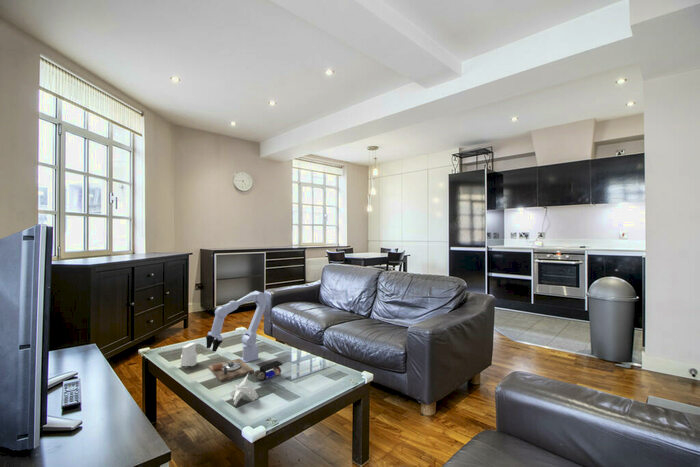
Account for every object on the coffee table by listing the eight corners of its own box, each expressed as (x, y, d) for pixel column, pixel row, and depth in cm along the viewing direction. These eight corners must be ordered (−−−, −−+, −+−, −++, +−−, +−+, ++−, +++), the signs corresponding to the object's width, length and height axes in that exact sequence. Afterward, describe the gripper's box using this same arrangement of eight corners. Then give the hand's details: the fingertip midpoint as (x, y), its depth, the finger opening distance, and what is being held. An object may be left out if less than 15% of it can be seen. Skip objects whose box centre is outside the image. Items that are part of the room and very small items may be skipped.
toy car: (260, 386, 176) (284, 375, 187) (258, 373, 175) (282, 362, 186) (254, 382, 181) (277, 371, 191) (252, 369, 180) (276, 359, 191)
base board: (239, 360, 209) (239, 353, 209) (253, 372, 191) (253, 363, 191) (208, 368, 196) (208, 360, 197) (220, 381, 179) (220, 372, 179)
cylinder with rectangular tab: (190, 367, 198) (190, 348, 198) (177, 366, 199) (177, 346, 200) (199, 362, 206) (200, 343, 207) (187, 361, 208) (187, 342, 208)
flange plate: (240, 363, 201) (240, 358, 201) (240, 370, 190) (240, 364, 190) (213, 366, 196) (213, 361, 196) (212, 373, 185) (212, 368, 185)
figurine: (235, 415, 158) (254, 411, 152) (219, 402, 154) (238, 398, 148) (248, 388, 170) (266, 384, 164) (234, 375, 166) (252, 370, 160)
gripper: (205, 323, 200) (199, 346, 197) (216, 329, 190) (210, 353, 188) (216, 324, 205) (210, 346, 203) (227, 329, 195) (221, 353, 193)
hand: (211, 349), depth 195 cm, fingers open, 7 cm apart
